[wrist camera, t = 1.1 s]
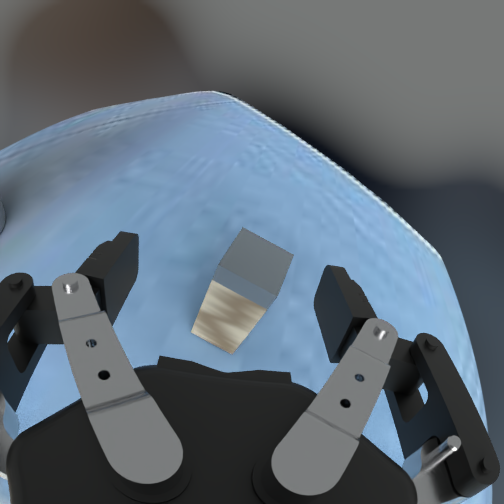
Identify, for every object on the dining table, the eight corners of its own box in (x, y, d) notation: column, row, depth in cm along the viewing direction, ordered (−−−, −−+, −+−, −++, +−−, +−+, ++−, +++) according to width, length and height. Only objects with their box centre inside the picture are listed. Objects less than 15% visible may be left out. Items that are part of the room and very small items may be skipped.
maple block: (190, 332, 31) (218, 264, 22) (210, 299, 34) (242, 227, 26) (232, 354, 31) (277, 296, 22) (248, 319, 34) (293, 254, 26)
